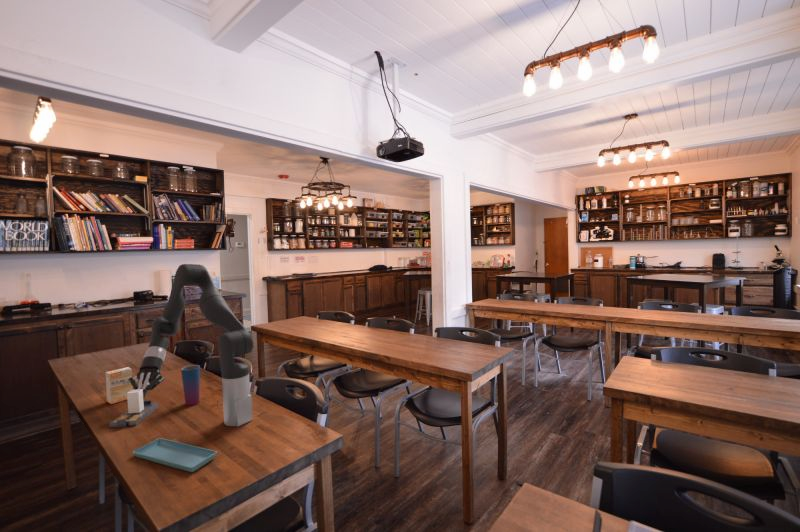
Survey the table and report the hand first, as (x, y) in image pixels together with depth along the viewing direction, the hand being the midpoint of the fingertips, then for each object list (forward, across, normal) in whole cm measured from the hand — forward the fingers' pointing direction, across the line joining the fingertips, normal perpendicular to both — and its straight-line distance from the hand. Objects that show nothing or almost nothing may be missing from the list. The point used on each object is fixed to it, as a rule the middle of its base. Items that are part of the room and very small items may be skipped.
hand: (139, 400), depth 147 cm
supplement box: (-7, -16, +15) cm, 23 cm away
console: (+6, 0, +2) cm, 6 cm away
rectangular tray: (+29, +28, -21) cm, 46 cm away
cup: (-1, +17, +9) cm, 19 cm away
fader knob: (+4, 0, +1) cm, 4 cm away
